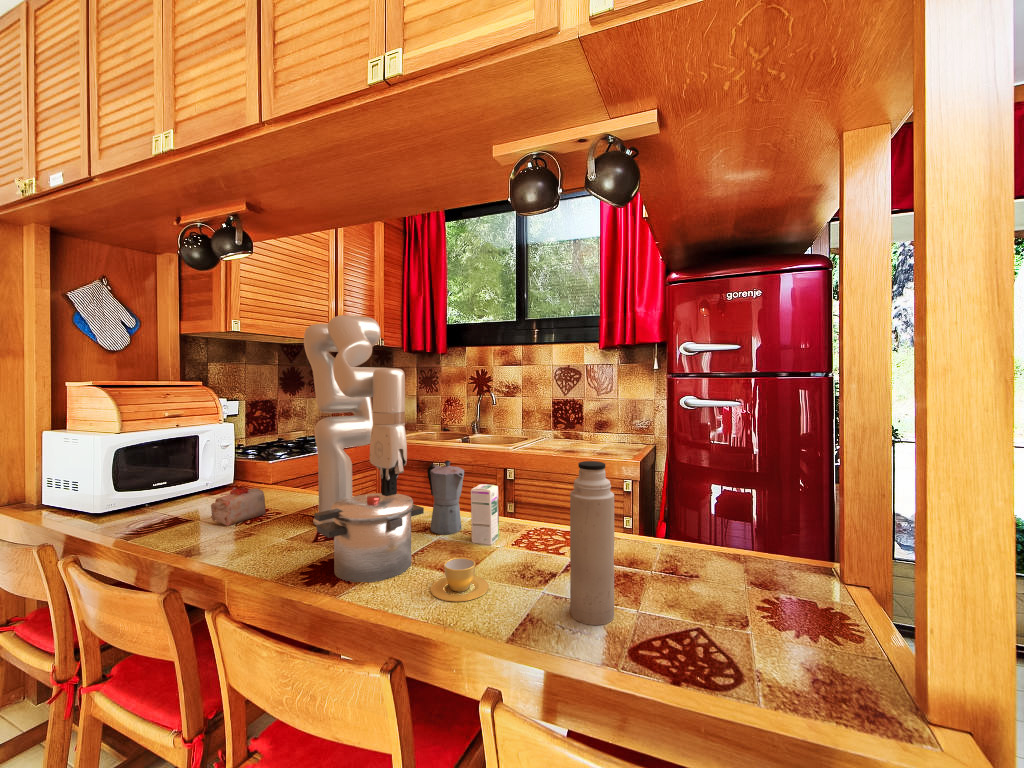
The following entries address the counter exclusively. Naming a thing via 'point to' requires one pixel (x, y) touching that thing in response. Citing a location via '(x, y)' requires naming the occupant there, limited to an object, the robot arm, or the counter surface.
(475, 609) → the counter surface
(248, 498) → the food item
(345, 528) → the pot
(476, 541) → the syrup box
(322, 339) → the robot arm
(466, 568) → the cup
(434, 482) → the moka pot
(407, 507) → the lid
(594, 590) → the thermos bottle
